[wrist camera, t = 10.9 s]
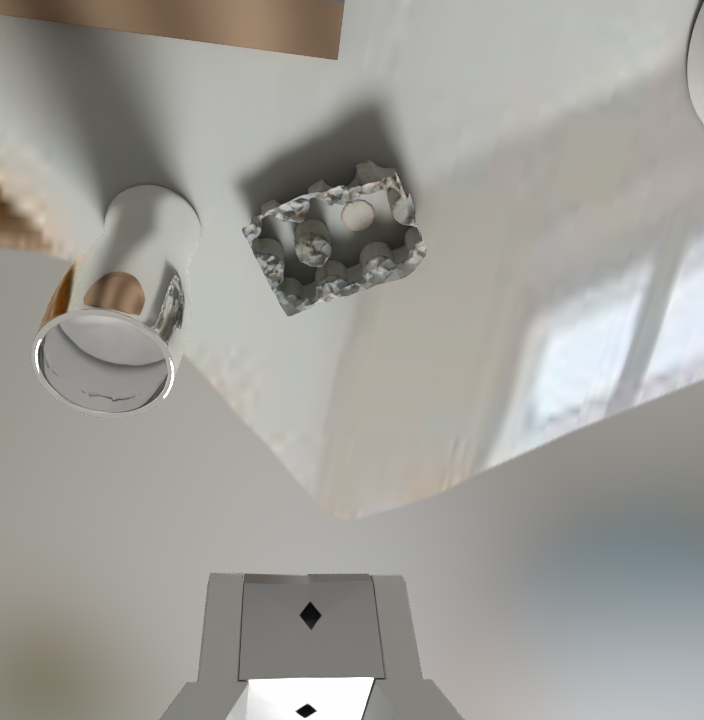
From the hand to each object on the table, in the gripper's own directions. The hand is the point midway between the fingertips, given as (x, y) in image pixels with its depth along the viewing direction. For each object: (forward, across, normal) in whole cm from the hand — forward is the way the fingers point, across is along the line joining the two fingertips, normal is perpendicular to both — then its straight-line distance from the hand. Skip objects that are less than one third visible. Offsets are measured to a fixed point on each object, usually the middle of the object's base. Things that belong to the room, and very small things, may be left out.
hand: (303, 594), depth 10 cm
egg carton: (+35, -4, +10) cm, 36 cm away
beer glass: (+34, +8, +11) cm, 37 cm away
